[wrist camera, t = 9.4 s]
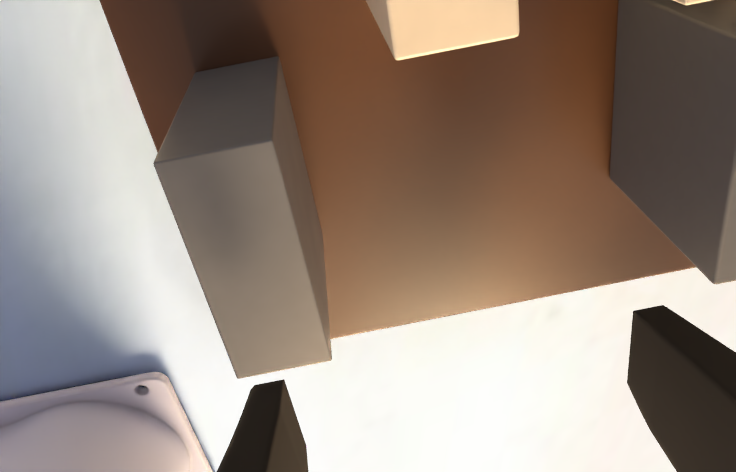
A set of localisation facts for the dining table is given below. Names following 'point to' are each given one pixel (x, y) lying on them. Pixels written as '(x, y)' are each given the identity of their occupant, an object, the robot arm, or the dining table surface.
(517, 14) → the tan wooden block
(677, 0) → the cream block
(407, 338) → the dining table surface
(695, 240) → the grey block pair
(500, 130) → the shelf board
